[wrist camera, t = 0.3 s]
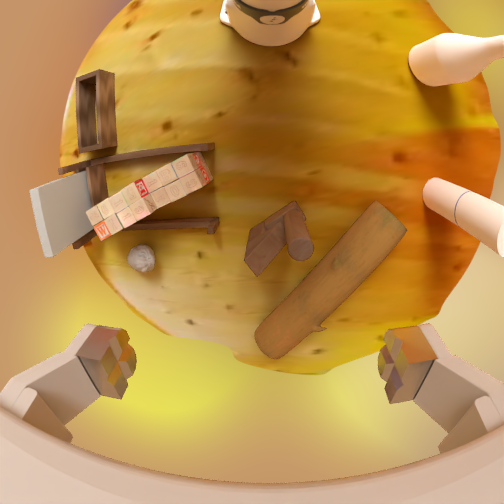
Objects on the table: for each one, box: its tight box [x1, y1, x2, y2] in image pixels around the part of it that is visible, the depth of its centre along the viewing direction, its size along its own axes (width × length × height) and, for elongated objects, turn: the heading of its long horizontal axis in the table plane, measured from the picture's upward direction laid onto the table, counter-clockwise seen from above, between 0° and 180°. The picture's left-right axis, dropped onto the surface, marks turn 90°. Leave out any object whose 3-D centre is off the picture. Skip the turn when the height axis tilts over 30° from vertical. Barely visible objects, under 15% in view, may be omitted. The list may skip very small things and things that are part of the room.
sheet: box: [30, 170, 94, 257], centre depth 45 cm, size 12×2×20 cm, turn 2°
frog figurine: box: [127, 244, 155, 272], centre depth 56 cm, size 6×7×7 cm
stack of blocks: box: [86, 151, 213, 241], centre depth 48 cm, size 21×6×12 cm, turn 113°
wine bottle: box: [408, 33, 504, 87], centre depth 25 cm, size 10×10×30 cm
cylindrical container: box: [423, 178, 504, 257], centre depth 39 cm, size 7×7×25 cm
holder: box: [76, 69, 117, 153], centre depth 44 cm, size 16×6×6 cm, turn 2°
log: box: [255, 201, 407, 359], centre depth 55 cm, size 38×10×10 cm, turn 144°
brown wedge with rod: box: [244, 201, 314, 277], centre depth 47 cm, size 4×11×18 cm, turn 126°
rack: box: [58, 143, 219, 249], centre depth 48 cm, size 16×30×12 cm, turn 92°
